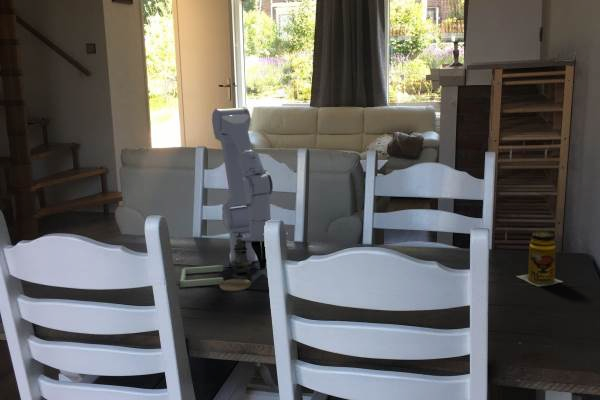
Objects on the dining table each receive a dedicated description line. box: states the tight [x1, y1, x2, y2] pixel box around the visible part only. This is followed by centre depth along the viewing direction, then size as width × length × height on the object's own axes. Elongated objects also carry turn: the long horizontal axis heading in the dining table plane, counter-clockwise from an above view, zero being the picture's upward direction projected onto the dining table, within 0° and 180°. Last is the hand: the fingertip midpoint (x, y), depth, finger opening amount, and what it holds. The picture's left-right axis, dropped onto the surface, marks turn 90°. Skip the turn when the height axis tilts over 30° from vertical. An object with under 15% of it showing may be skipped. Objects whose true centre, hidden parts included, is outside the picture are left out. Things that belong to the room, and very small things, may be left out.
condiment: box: [516, 231, 564, 287], centre depth 150 cm, size 7×8×12 cm
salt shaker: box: [229, 232, 253, 279], centre depth 162 cm, size 6×6×12 cm
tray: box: [179, 264, 224, 288], centre depth 162 cm, size 12×11×2 cm
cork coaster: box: [219, 278, 252, 292], centre depth 155 cm, size 8×8×1 cm
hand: (262, 267), depth 164 cm, fingers closed
